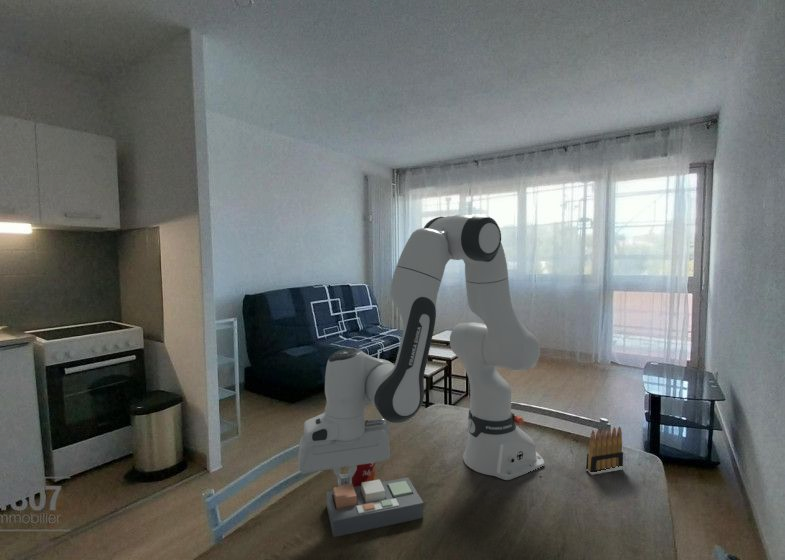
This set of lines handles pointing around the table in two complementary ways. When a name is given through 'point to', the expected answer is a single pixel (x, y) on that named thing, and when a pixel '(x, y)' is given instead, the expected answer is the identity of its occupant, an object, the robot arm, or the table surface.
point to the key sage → (399, 489)
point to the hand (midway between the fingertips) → (344, 483)
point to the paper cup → (363, 474)
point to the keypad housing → (374, 511)
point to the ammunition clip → (605, 450)
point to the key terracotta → (344, 496)
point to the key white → (372, 491)
